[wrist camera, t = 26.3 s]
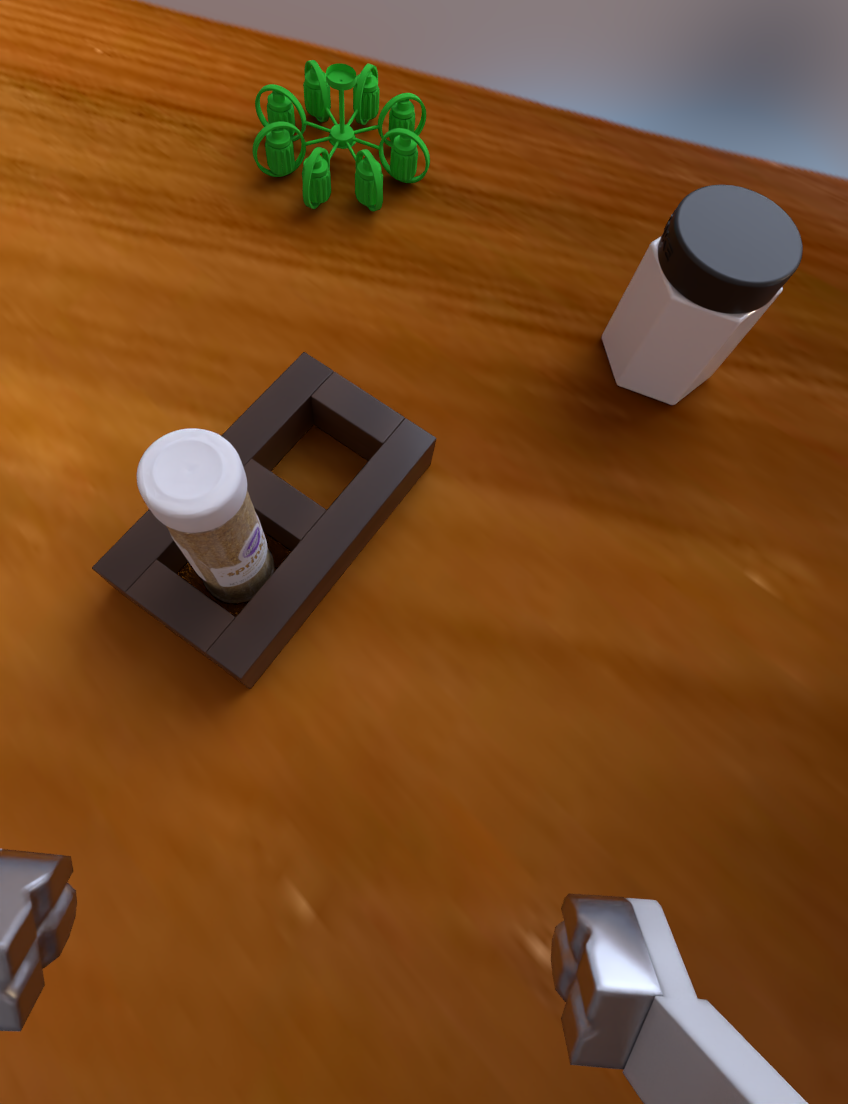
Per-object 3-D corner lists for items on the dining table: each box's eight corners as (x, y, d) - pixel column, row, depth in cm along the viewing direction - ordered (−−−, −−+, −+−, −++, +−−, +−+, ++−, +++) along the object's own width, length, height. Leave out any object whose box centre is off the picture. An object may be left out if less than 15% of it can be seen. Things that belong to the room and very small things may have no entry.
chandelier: (226, 119, 55) (209, 28, 49) (387, 83, 59) (390, -5, 52) (291, 246, 51) (282, 165, 44) (460, 200, 54) (474, 119, 48)
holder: (112, 586, 40) (90, 567, 36) (307, 382, 46) (304, 351, 43) (250, 689, 38) (240, 679, 35) (431, 464, 45) (436, 437, 42)
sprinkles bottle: (267, 609, 40) (228, 523, 28) (194, 599, 40) (120, 508, 27) (281, 542, 42) (250, 432, 29) (211, 531, 42) (149, 417, 29)
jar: (654, 297, 53) (735, 161, 41) (728, 364, 51) (834, 242, 40) (578, 349, 50) (642, 220, 39) (654, 423, 48) (744, 309, 37)
